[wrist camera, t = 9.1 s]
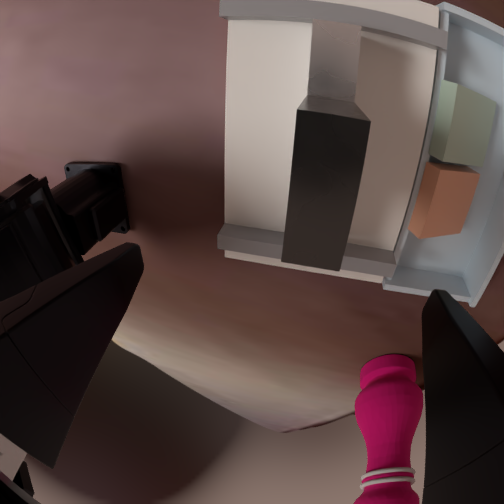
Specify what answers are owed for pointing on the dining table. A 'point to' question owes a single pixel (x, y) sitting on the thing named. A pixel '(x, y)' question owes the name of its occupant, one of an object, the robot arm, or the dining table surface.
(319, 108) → the grey panel
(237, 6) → the white shallow box
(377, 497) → the pepper mill
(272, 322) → the dining table surface
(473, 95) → the sage tile
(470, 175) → the terracotta tile
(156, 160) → the dining table surface
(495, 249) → the tray
